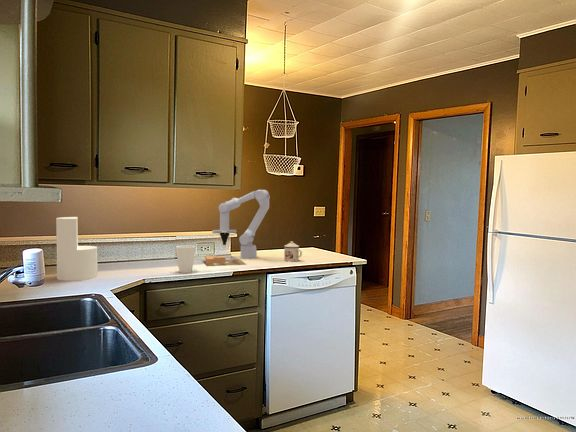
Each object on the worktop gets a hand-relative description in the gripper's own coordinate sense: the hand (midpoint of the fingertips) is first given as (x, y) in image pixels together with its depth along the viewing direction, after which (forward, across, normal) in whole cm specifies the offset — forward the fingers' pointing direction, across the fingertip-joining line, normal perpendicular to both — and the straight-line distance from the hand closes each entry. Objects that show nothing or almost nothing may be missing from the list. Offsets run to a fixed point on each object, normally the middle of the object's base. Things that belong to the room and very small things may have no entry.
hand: (224, 244), depth 274 cm
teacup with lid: (+9, -38, +20) cm, 44 cm away
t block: (+7, +9, +22) cm, 25 cm away
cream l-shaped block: (+9, +78, +41) cm, 89 cm away
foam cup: (+9, +28, +40) cm, 50 cm away
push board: (+8, +5, +23) cm, 25 cm away
